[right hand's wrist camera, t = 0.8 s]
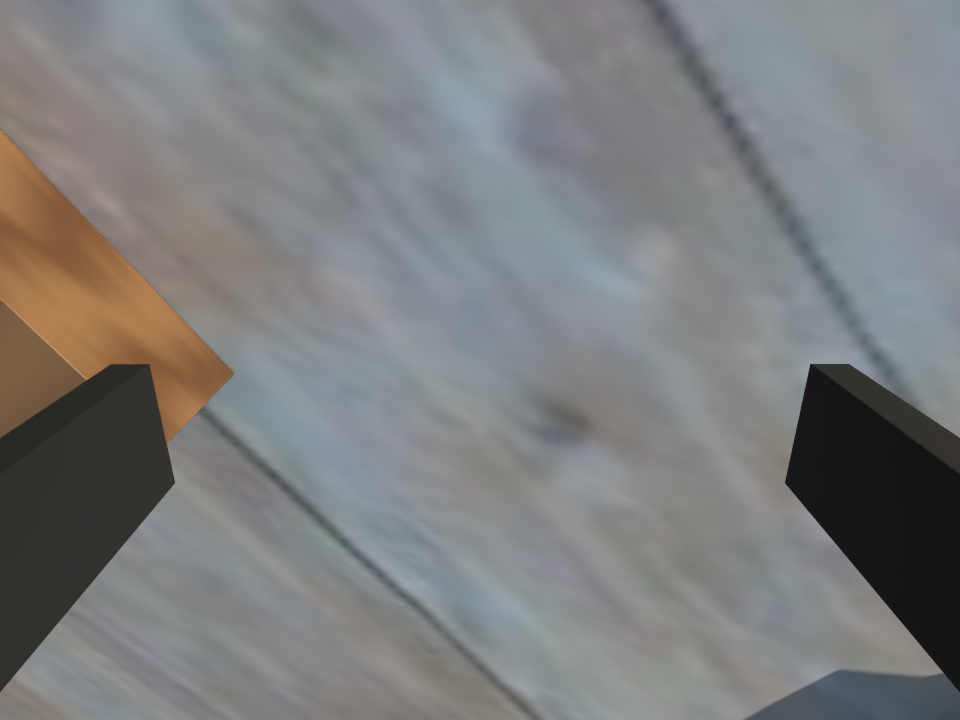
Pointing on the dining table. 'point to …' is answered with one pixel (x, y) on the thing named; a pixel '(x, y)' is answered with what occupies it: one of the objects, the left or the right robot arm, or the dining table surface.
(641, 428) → the dining table surface
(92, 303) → the box
